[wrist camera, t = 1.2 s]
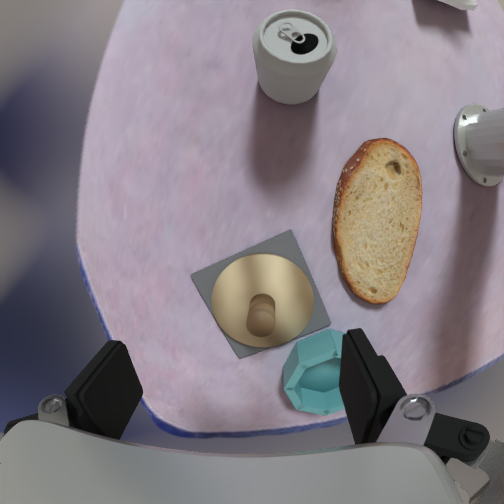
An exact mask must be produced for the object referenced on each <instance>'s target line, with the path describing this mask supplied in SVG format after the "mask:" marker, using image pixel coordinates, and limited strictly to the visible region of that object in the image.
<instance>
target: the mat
mask: <svg viewBox="0 0 504 504" xmlns="http://www.w3.org/2000/svg"><path fill="white" fill-rule="evenodd" d="M255 253H270V254H276V255H279V256H282V257H284V258H287V259H289V260H290V261H292V262H293V263H295V264H296V265H297V266H299V268H300V269H301V270H302V271H303V272H304V273H305V275H306V276H307V278H308V280H309V282H310V284H311V287H312V290H313V295H314V309H313V313H312V316H311V319H310V321H309V323H308V324H307V326H306V327H305V328H304V330H303V331H302V332H301V333H300V334H299V335H298V336H296V337H295V338H298V337H300V336H303V335H306V334H308V333H311V332H313V331H315V330H318V329H320V328H323V327H325V326H328V325H330V324H331V322H330V319H329V317H328V314H327V312H326V309H325V307H324V304H323V302H322V300H321V297H320V295H319V292H318V290H317V288H316V285H315V283H314V281H313V278H312V276H311V274H310V271H309V269H308V267H307V264H306V262H305V260H304V257H303V255H302V253H301V251H300V248H299V246H298V244H297V242H296V239H295V237H294V235H293V233H292V231H291V229H290V230H288V231H286V232H284V233H282V234H279V235H277V236H275V237H273V238H270V239H268V240H266V241H264V242H262V243H259V244H257V245H255V246H253V247H250V248H248V249H246V250H244V251H242V252H239V253H237V254H235V255H233V256H231V257H228V258H226V259H224V260H222V261H220V262H217V263H215V264H213V265H211V266H209V267H206V268H204V269H202V270H200V271H198V272H195V273H193V274H191V278H192V280H193V281H194V283H195V285H196V287H197V289H198V290H199V292H200V294H201V296H202V297H203V299H204V301H205V303H206V304H207V306H208V308H209V310H210V311H211V313H212V315H213V316H214V313H213V310H212V301H211V299H212V292H213V288H214V285H215V283H216V281H217V279H218V277H219V275H220V274H221V272H222V271H223V270H224V269H225V268H226V267H227V266H228V265H229V264H230V263H232V262H233V261H235V260H237V259H238V258H240V257H243V256H246V255H250V254H255ZM214 318H215V316H214ZM215 320H216V318H215ZM216 321H217V320H216ZM217 323H218V322H217ZM218 325H219V324H218ZM219 326H220V325H219ZM220 328H221V327H220ZM221 330H222V331H223V333H224V335H225V336H226V338H227V340H228V341H229V343H230V345H231V346H232V348H233V349H234V351H235V353H236V354H237V356H238V357H239V358H241V357H244V356H248V355H251V354H254V353H256V352H259V351H262V350H265V349H268V348H271V347H254V346H250V345H246V344H243V343H241V342H239V341H237V340H235V339H233V338H232V337H230V336H229V335H228V334H227V333H226V332H225V331H224V330H223V329H222V328H221ZM295 338H294V339H295ZM292 340H293V339H292ZM273 347H274V346H273Z"/></svg>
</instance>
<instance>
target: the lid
mask: <svg viewBox="0 0 504 504" xmlns="http://www.w3.org/2000/svg"><path fill="white" fill-rule="evenodd" d="M211 301H212V310H213V313H214V316H215V318H216V320H217V322H218V324H219V325H220V327H221V328H222V329H223V330H224V331H225V332H226V333H227V334H228V335H229V336H230V337H232V338H233V339H235V340H237V341H239V342H241V343H243V344H246V345H250V346H254V347H273V346H278V345H281V344H284V343H286V342H288V341H290V340H292V339H294V338H295V337H296V336H298V335H299V334H300V333H301V332H302V331H303V330H304V328H305V327H306V326H307V324H308V323H309V321H310V319H311V316H312V313H313V309H314V295H313V290H312V287H311V284H310V282H309V280H308V278H307V276H306V275H305V273H304V272H303V271H302V270H301V269H300V268H299V266H297V265H296V264H295V263H293V262H292V261H290V260H289V259H287V258H284V257H282V256H279V255H276V254H270V253H255V254H250V255H246V256H243V257H240V258H238V259H237V260H235V261H233V262H232V263H230V264H229V265H228V266H227V267H226V268H225V269H224V270H223V271H222V272H221V274H220V275H219V277H218V279H217V281H216V283H215V285H214V288H213V292H212V299H211Z"/></svg>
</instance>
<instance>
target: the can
mask: <svg viewBox="0 0 504 504" xmlns="http://www.w3.org/2000/svg"><path fill="white" fill-rule="evenodd" d="M253 52H254V58H255V63H256V69H257V75H258V81H259V84H260V86H261V89H262V90H263V91H264V92H265V94H266V95H267V96H268V97H270V98H272V99H273V100H275V101H277V102H280V103H283V104H299V103H303V102H306V101H308V100H309V99H311V98H312V97H313V96H314V95H315V94H316V93H317V91H318V90H319V88H320V86H321V84H322V82H323V80H324V79H325V77H326V75H327V73H328V71H329V69H330V67H331V65H332V63H333V62H334V59H335V56H336V53H337V46H336V40H335V38H334V36H333V34H332V32H331V31H330V29H329V27H328V25H327V24H326V23H325V22H324V21H323V20H321V19H320V18H319V17H317V16H315V15H313V14H312V13H309V12H305V11H302V10H289V9H288V10H283V11H278V12H276V13H274V14H272V15H270V16H268V17H267V18H266V19H265V20H264V21H263V22H262V23H261V24H260V25H259V26H258V27H257V28H256V30H255V33H254V35H253Z"/></svg>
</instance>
